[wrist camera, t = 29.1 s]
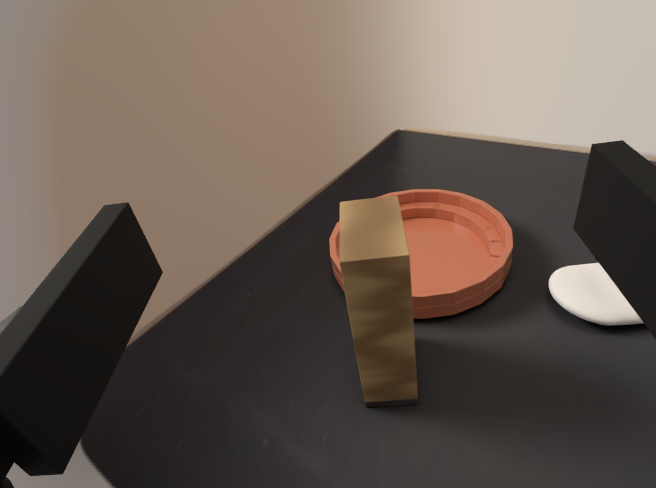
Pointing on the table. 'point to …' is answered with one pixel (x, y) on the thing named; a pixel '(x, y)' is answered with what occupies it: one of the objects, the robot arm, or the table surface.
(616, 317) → the figurine
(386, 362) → the wooden block
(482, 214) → the bowl
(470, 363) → the table surface
